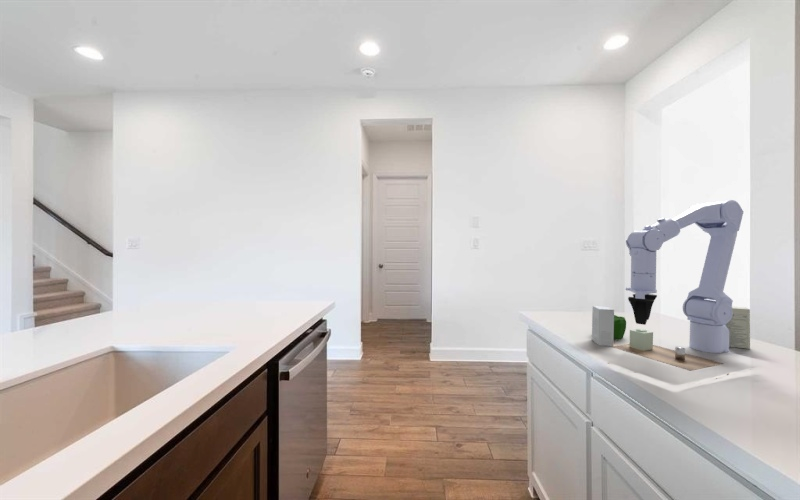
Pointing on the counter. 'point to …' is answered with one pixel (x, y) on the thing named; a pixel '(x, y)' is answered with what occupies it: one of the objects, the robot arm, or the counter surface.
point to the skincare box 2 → (739, 328)
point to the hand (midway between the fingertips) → (642, 321)
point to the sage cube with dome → (641, 339)
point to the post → (680, 353)
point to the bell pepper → (619, 327)
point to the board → (671, 357)
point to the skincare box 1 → (603, 325)
